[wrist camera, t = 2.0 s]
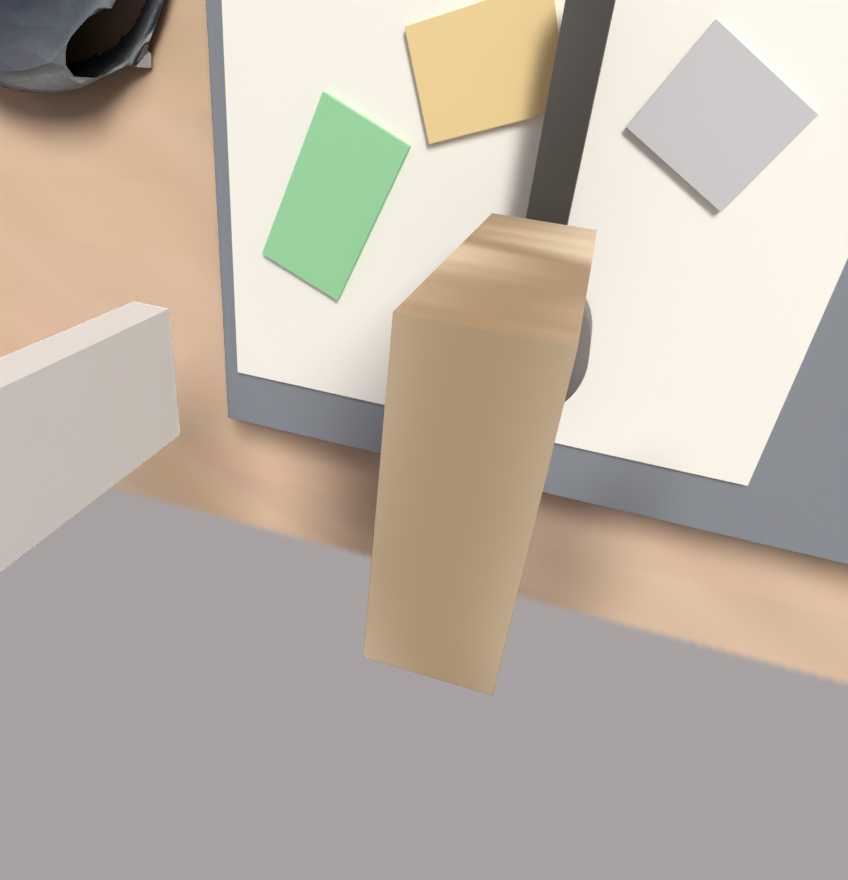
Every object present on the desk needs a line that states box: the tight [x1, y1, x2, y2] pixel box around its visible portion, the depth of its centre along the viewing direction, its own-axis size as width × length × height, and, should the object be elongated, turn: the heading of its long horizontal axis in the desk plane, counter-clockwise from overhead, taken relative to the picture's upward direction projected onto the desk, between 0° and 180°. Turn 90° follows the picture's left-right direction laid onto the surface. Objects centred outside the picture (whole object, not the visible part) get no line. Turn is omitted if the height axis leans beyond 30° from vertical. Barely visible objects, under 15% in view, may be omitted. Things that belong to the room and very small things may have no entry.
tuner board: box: [206, 0, 848, 564], centre depth 16 cm, size 22×13×2 cm, turn 84°
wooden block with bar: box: [363, 0, 616, 695], centre depth 12 cm, size 3×10×9 cm, turn 174°
